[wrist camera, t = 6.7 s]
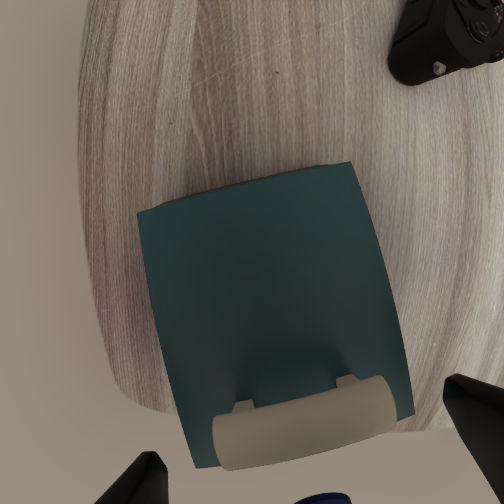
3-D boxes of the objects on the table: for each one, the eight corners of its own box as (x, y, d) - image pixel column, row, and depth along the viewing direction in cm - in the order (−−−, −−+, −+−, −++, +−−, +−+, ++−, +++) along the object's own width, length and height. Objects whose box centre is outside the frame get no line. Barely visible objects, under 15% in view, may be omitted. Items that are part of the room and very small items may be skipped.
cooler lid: (410, 410, 12) (468, 447, 7) (198, 463, 12) (166, 524, 7) (348, 166, 14) (379, 102, 9) (141, 216, 14) (86, 172, 9)
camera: (454, 130, 18) (535, 123, 10) (373, 75, 17) (441, 34, 9) (481, 3, 15) (538, -24, 8) (415, -45, 14) (462, -90, 6)
